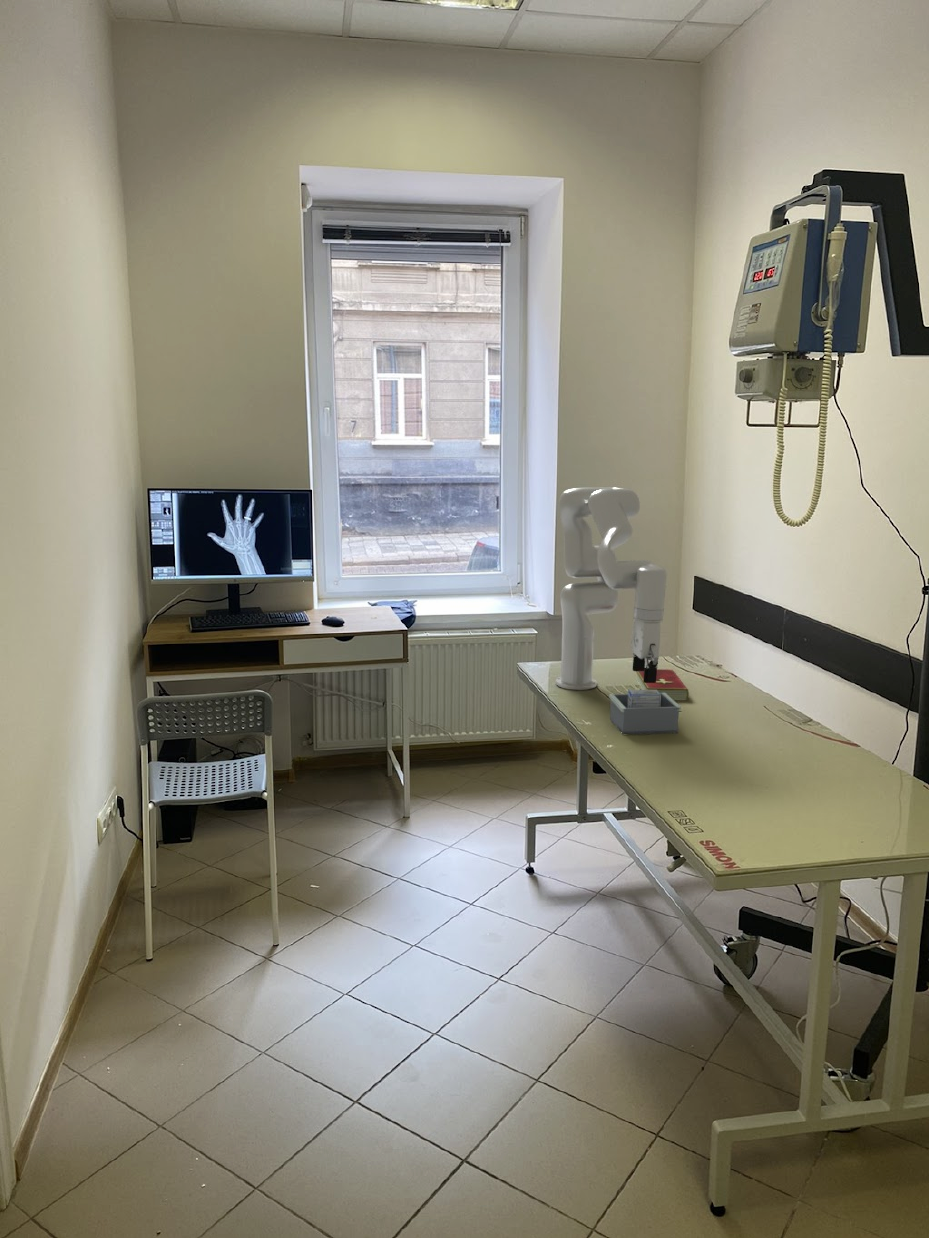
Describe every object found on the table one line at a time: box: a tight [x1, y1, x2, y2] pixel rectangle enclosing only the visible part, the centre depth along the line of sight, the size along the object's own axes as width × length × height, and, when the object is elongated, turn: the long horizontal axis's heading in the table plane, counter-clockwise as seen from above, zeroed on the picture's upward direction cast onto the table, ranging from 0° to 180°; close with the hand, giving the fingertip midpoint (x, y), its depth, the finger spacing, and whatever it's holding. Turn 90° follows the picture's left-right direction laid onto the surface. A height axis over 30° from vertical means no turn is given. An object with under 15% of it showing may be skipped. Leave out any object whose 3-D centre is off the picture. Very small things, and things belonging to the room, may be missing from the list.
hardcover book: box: [635, 668, 690, 701], centre depth 275 cm, size 12×21×4 cm, turn 179°
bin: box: [608, 693, 682, 735], centre depth 242 cm, size 13×16×7 cm
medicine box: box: [627, 689, 661, 708], centre depth 242 cm, size 8×4×9 cm, turn 92°
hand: (643, 676), depth 241 cm, fingers open, 9 cm apart
